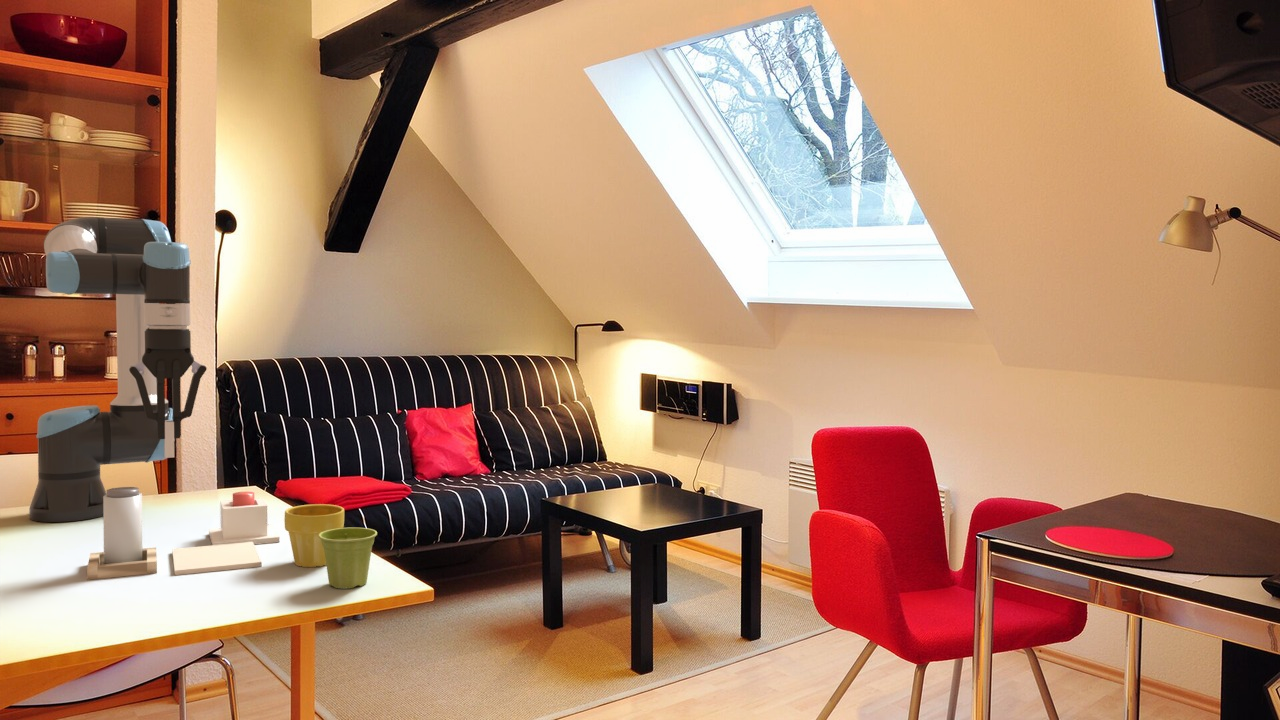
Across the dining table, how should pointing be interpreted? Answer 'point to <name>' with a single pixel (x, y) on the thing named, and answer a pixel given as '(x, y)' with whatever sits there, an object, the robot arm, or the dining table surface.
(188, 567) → the sand mat
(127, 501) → the filter cartridge
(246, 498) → the latch button
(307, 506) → the plant pot
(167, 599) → the dining table surface
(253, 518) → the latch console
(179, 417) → the robot arm
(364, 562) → the plant pot
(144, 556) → the socket
